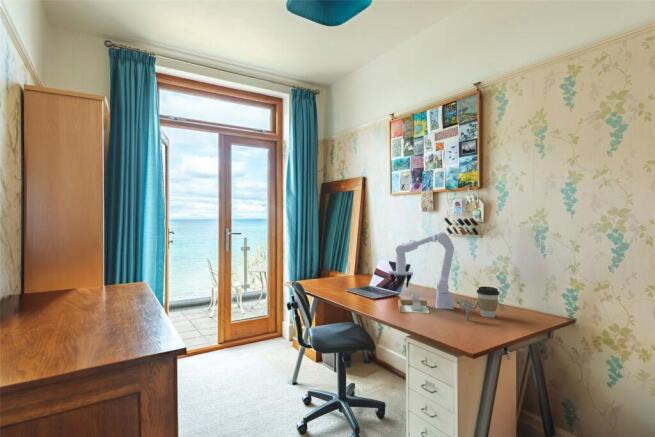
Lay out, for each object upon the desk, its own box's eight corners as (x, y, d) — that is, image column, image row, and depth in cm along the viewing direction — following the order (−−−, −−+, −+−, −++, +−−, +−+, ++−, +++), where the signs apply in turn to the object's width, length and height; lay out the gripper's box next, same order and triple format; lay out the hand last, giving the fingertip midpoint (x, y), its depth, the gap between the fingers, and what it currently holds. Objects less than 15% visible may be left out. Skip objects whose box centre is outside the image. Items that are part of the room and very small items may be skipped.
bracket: (420, 310, 193) (420, 298, 193) (413, 310, 193) (413, 297, 193) (418, 306, 201) (418, 294, 201) (411, 306, 202) (411, 294, 202)
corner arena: (426, 306, 205) (426, 300, 205) (430, 313, 189) (430, 307, 189) (397, 304, 207) (397, 299, 207) (399, 312, 191) (399, 305, 191)
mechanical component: (478, 321, 175) (478, 302, 175) (457, 320, 177) (457, 301, 177) (477, 320, 178) (477, 300, 177) (456, 318, 180) (456, 299, 180)
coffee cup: (476, 312, 193) (477, 285, 193) (499, 314, 188) (499, 287, 188) (475, 317, 183) (476, 289, 182) (499, 320, 178) (499, 291, 178)
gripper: (412, 264, 212) (412, 286, 212) (388, 263, 214) (388, 285, 214) (413, 265, 205) (413, 288, 205) (388, 265, 207) (388, 287, 207)
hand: (400, 287), depth 209 cm, fingers open, 7 cm apart
